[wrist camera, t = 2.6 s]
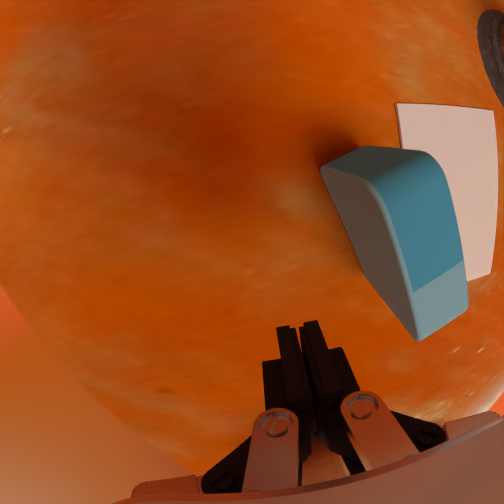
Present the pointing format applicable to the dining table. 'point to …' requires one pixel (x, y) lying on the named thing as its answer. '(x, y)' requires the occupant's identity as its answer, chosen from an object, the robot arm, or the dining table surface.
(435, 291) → the data package
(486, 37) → the tankard
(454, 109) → the mat
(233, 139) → the dining table surface
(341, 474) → the butternut squash
